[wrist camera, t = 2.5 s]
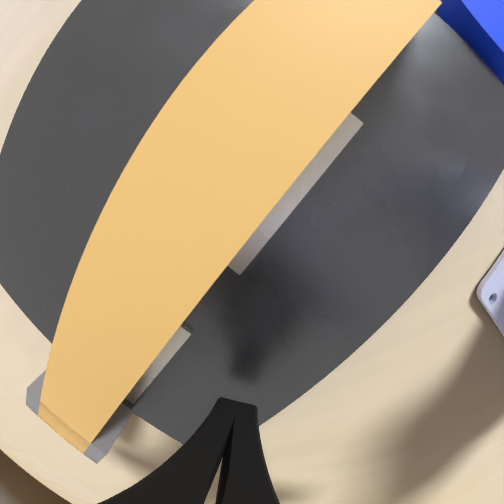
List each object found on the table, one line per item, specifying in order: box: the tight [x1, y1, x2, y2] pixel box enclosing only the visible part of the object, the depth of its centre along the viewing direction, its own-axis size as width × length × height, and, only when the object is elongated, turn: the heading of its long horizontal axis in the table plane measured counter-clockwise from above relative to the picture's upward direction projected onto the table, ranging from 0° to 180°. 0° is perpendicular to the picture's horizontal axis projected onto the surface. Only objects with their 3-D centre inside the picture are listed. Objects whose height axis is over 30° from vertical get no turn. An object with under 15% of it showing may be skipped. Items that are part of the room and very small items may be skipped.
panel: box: [0, 0, 504, 444], centre depth 7 cm, size 18×22×6 cm
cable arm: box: [26, 0, 442, 463], centre depth 7 cm, size 20×4×3 cm, turn 143°
